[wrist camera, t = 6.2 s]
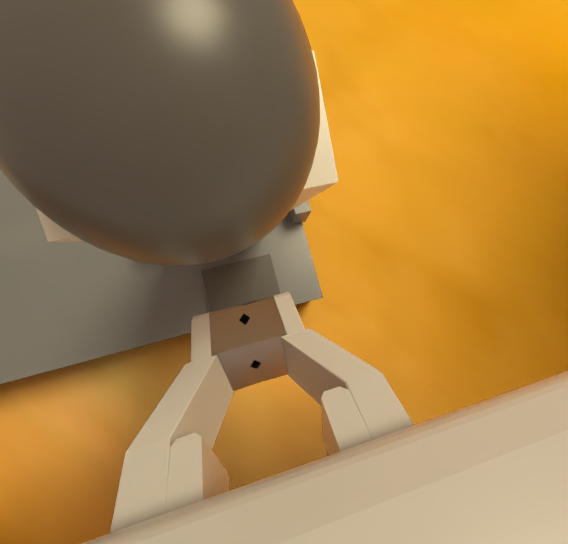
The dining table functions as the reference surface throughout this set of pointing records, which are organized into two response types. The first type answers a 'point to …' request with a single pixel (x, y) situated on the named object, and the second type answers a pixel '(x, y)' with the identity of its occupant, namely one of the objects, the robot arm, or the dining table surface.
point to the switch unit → (123, 290)
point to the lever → (161, 122)
